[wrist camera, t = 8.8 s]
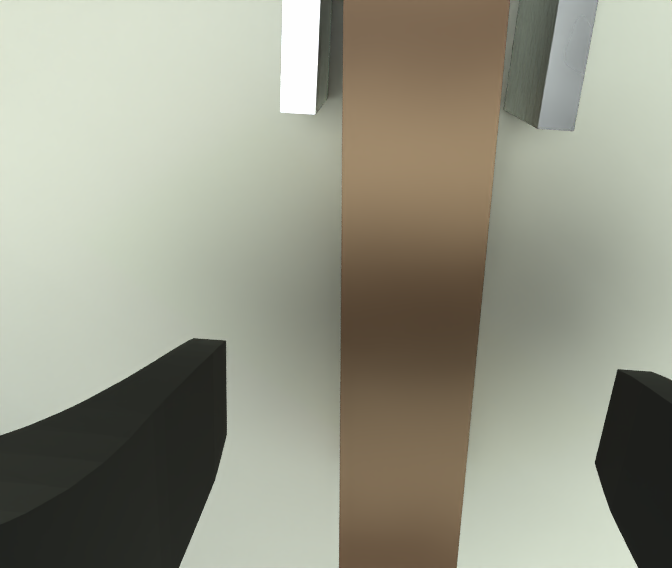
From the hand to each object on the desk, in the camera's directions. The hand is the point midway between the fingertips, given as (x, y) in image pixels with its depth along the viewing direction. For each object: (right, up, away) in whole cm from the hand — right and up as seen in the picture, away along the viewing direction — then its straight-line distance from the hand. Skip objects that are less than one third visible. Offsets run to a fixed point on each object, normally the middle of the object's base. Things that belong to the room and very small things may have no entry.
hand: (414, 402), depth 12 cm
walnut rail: (+1, +3, +8) cm, 9 cm away
